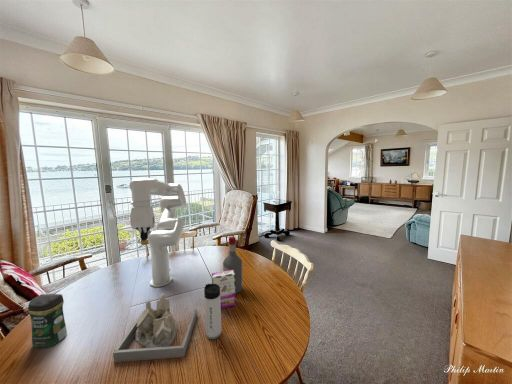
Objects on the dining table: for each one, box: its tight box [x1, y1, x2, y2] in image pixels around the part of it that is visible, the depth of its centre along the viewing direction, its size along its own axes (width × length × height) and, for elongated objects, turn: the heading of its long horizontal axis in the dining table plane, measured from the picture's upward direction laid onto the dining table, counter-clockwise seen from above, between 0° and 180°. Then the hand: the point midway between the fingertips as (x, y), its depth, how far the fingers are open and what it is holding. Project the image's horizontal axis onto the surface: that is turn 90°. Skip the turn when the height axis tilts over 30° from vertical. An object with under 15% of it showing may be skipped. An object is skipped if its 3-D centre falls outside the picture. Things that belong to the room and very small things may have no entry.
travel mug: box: [203, 283, 222, 340], centre depth 83 cm, size 6×7×20 cm
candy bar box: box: [211, 270, 237, 309], centre depth 101 cm, size 11×5×16 cm, turn 105°
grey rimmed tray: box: [112, 307, 198, 363], centre depth 83 cm, size 22×24×4 cm
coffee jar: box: [27, 293, 68, 348], centre depth 80 cm, size 10×8×19 cm
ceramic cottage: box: [134, 293, 178, 348], centre depth 82 cm, size 16×16×15 cm
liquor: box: [222, 236, 244, 294], centre depth 114 cm, size 9×9×30 cm
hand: (144, 239), depth 104 cm, fingers closed
